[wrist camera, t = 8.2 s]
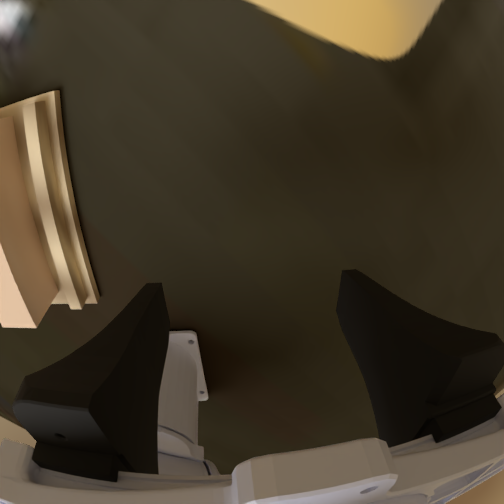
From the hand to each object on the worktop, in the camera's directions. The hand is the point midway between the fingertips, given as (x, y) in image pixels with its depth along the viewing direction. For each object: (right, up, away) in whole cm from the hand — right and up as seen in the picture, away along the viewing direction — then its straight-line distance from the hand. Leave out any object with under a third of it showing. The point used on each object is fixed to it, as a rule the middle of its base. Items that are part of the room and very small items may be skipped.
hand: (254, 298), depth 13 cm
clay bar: (-18, +5, +6) cm, 19 cm away
